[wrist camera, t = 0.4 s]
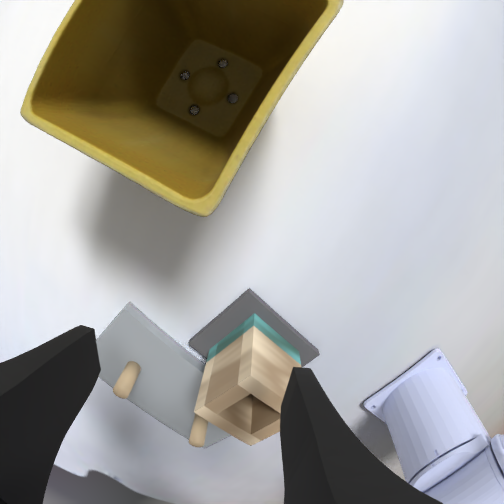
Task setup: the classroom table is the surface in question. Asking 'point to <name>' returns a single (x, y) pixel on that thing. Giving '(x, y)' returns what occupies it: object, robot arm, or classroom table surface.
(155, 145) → the flower pot
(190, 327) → the classroom table surface
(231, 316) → the pad
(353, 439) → the robot arm
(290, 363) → the sleeve
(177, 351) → the pin board
